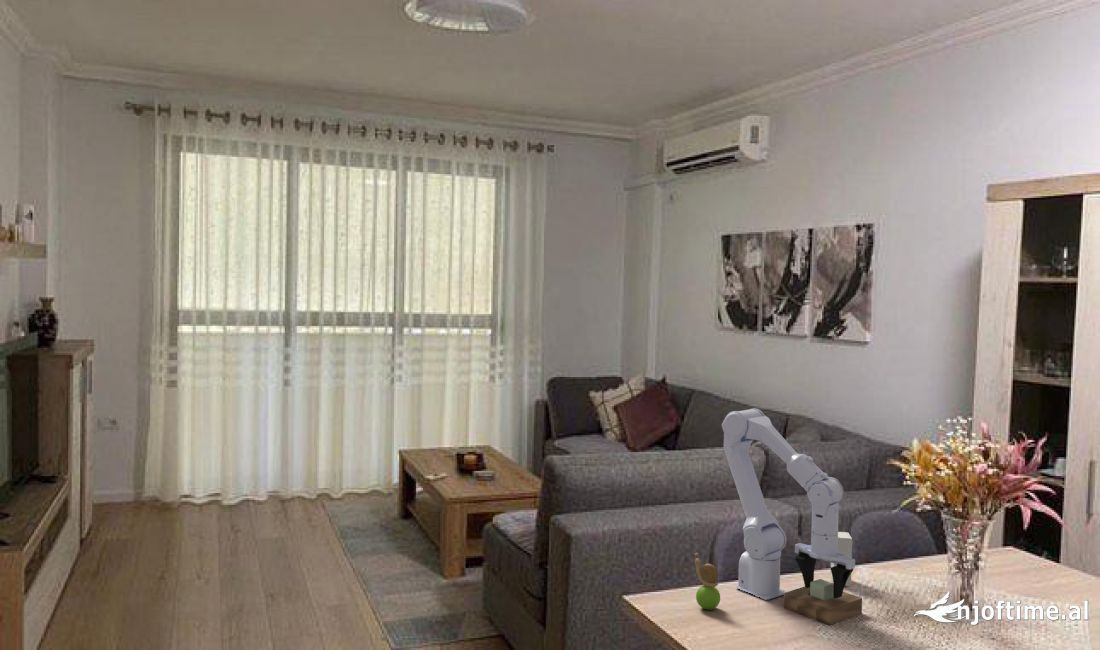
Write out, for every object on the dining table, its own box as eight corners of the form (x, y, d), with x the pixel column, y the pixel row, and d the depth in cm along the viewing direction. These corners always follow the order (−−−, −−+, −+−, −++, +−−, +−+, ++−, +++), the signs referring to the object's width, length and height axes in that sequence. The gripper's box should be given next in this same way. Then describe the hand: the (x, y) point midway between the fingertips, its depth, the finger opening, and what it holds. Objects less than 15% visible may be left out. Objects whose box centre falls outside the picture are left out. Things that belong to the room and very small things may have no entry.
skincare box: (851, 587, 201) (852, 538, 200) (833, 585, 202) (834, 537, 201) (847, 578, 207) (848, 532, 206) (830, 577, 208) (831, 530, 207)
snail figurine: (701, 601, 190) (702, 550, 190) (724, 609, 185) (725, 556, 185) (687, 607, 186) (688, 555, 186) (711, 615, 182) (712, 562, 181)
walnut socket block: (784, 607, 187) (784, 592, 186) (816, 597, 194) (816, 582, 194) (829, 625, 177) (829, 609, 177) (861, 613, 184) (862, 598, 184)
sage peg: (809, 608, 185) (810, 581, 185) (819, 604, 187) (820, 578, 187) (823, 613, 182) (823, 586, 182) (833, 609, 185) (833, 583, 184)
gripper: (787, 527, 188) (785, 585, 189) (842, 543, 176) (840, 605, 177) (806, 523, 192) (804, 580, 193) (861, 538, 181) (859, 598, 181)
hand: (823, 591), depth 185 cm, fingers open, 7 cm apart
